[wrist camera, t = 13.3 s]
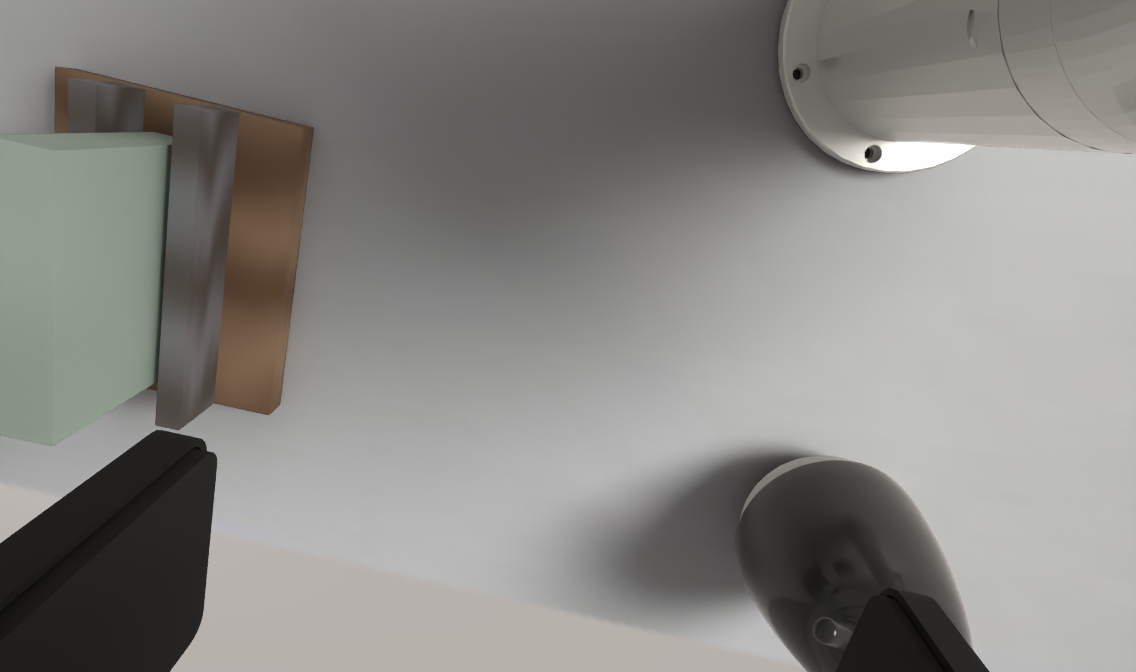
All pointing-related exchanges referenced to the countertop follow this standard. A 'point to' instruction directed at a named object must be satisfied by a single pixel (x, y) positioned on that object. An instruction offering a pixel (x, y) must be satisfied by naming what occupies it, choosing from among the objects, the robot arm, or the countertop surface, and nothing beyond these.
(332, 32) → the countertop surface
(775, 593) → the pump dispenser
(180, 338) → the track board
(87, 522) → the robot arm
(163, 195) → the door panel
